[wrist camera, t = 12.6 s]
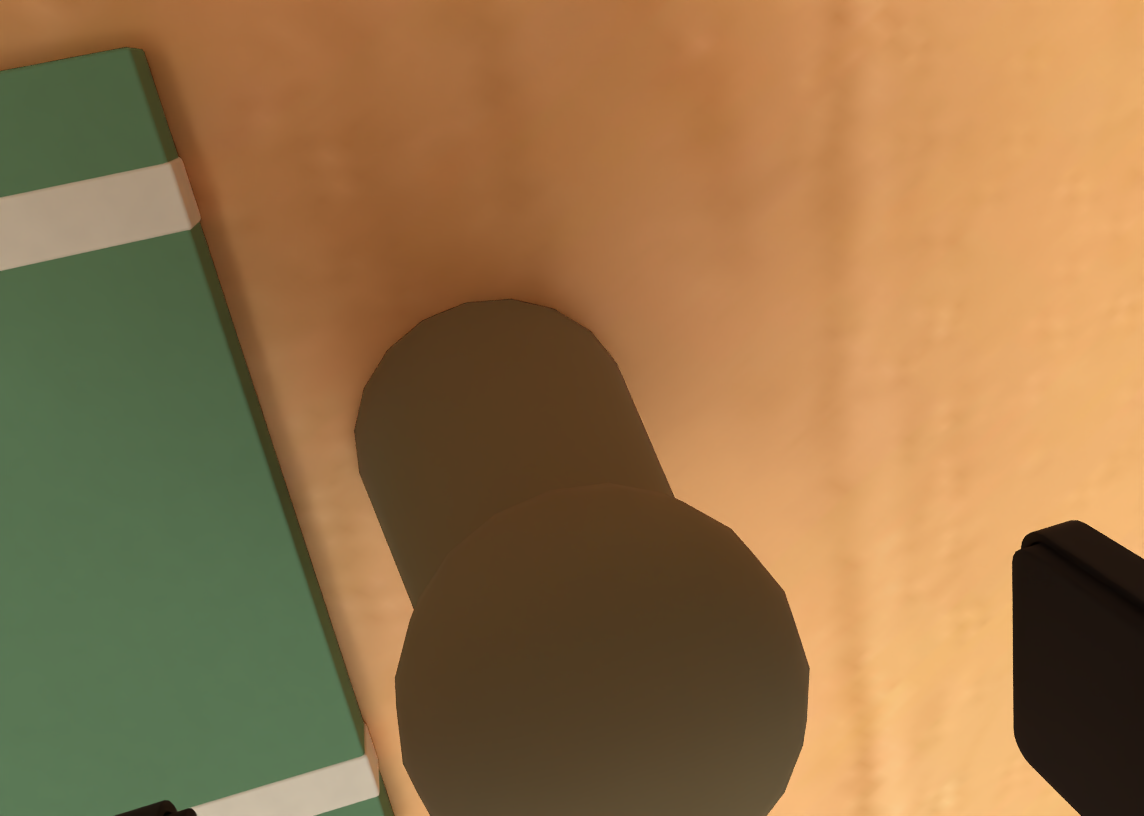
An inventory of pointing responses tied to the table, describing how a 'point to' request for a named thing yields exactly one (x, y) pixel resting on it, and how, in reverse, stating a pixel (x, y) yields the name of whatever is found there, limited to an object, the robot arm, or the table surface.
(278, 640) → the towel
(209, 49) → the table surface
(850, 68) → the table surface
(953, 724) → the table surface
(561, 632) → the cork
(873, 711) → the table surface
